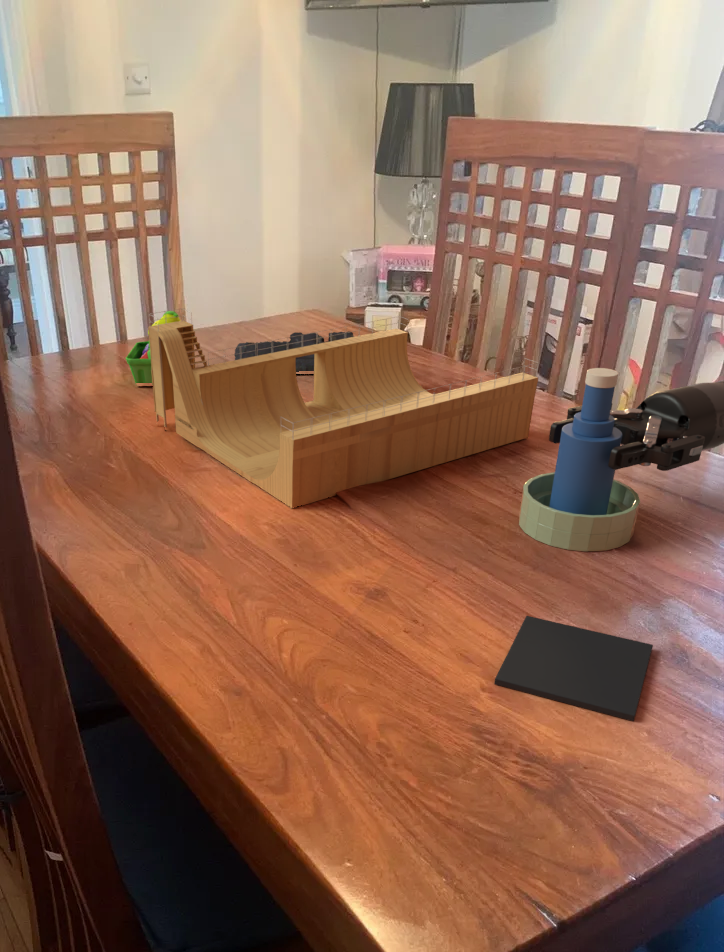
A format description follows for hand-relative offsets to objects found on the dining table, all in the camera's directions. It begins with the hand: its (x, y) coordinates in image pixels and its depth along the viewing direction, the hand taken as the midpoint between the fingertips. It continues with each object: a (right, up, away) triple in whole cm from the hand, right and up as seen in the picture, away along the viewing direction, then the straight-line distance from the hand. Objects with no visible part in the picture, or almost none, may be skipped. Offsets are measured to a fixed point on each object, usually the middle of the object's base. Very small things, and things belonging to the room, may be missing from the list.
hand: (580, 446), depth 90 cm
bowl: (+1, -8, +6) cm, 10 cm away
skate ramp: (-23, +8, +33) cm, 41 cm away
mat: (-6, -22, -17) cm, 28 cm away
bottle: (+1, -8, +5) cm, 10 cm away
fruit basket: (-52, +21, +57) cm, 80 cm away
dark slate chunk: (-28, +26, +64) cm, 75 cm away
